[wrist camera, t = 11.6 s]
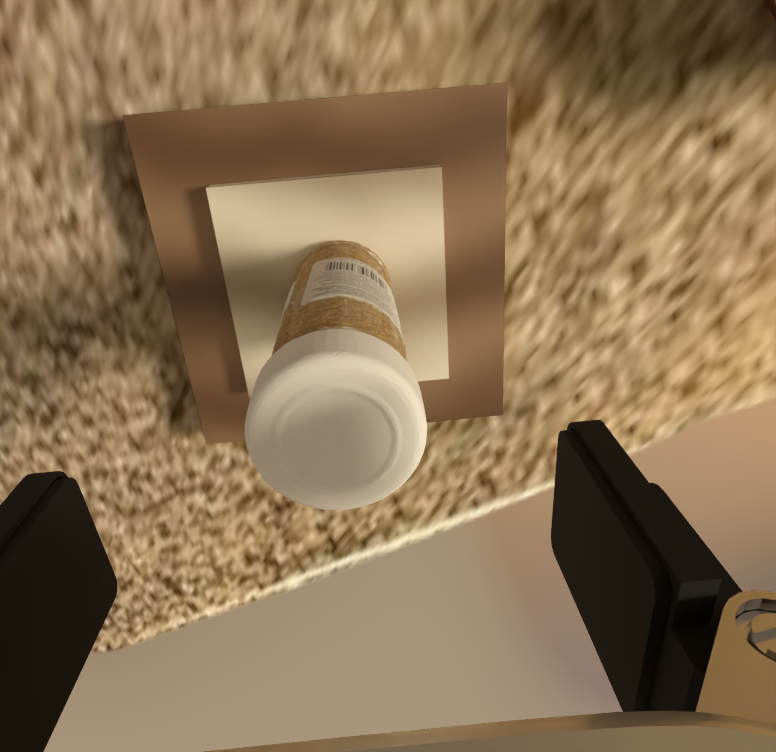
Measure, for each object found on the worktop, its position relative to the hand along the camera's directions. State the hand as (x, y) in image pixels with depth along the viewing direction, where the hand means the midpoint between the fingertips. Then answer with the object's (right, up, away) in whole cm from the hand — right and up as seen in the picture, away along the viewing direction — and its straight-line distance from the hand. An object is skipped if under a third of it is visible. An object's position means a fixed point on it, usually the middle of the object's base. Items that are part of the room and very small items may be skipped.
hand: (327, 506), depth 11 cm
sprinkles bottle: (-1, +7, +15) cm, 16 cm away
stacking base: (-1, +8, +18) cm, 19 cm away
